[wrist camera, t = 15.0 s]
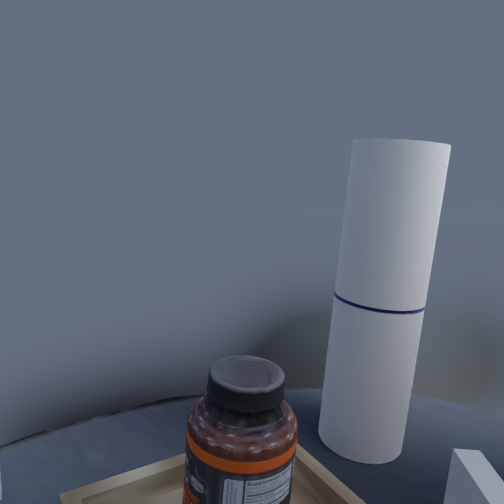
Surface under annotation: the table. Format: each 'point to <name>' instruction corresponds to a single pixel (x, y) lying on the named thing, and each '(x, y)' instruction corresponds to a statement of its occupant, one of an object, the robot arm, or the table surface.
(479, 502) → the robot arm
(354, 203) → the cylindrical container
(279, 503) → the supplement bottle
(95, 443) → the table surface
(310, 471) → the tray
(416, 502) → the table surface
